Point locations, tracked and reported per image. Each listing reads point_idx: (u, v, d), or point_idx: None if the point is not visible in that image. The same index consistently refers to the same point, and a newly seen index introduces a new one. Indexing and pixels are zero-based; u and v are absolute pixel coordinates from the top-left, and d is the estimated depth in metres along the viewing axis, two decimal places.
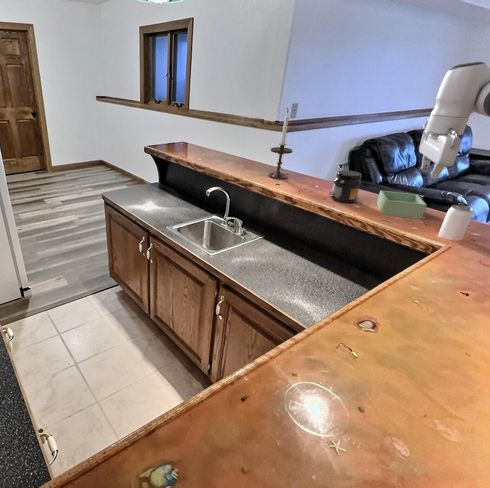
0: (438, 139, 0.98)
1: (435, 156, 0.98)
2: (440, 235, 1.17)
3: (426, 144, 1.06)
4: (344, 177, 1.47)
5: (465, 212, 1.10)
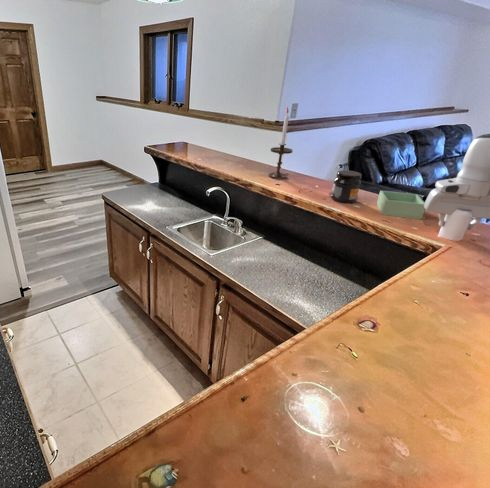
0: (484, 199, 1.08)
1: (486, 213, 1.09)
2: (440, 235, 1.17)
3: (450, 204, 1.12)
4: (344, 177, 1.47)
5: (465, 212, 1.10)
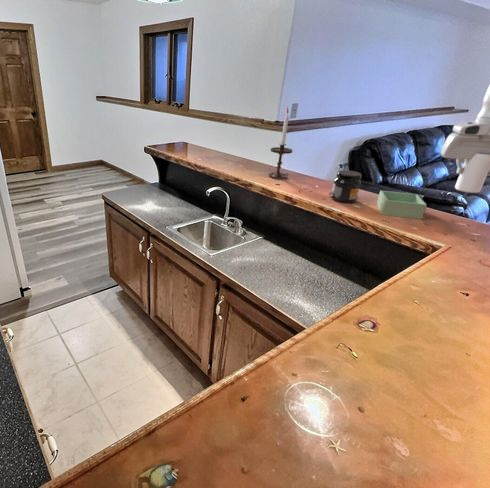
0: None
1: None
2: (458, 184, 1.10)
3: (469, 148, 1.05)
4: (344, 177, 1.47)
5: (486, 156, 1.03)
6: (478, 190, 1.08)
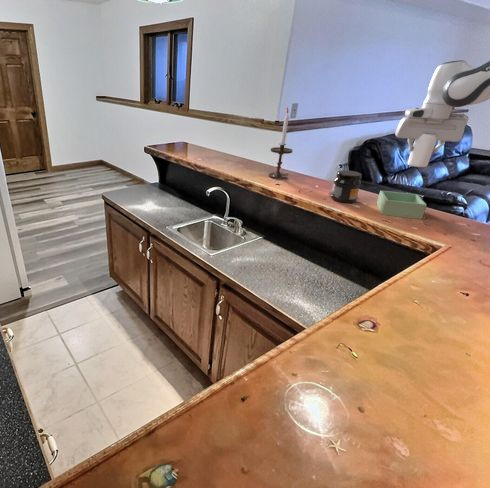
0: (446, 123, 1.22)
1: (448, 136, 1.23)
2: (409, 160, 1.31)
3: (417, 129, 1.26)
4: (344, 177, 1.47)
5: (430, 135, 1.24)
6: (425, 165, 1.29)
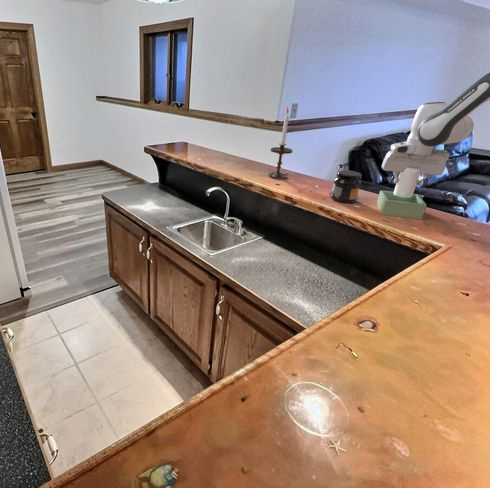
0: (428, 158, 1.30)
1: (431, 170, 1.31)
2: (395, 191, 1.39)
3: (401, 163, 1.34)
4: (344, 177, 1.47)
5: (414, 169, 1.32)
6: (409, 196, 1.36)
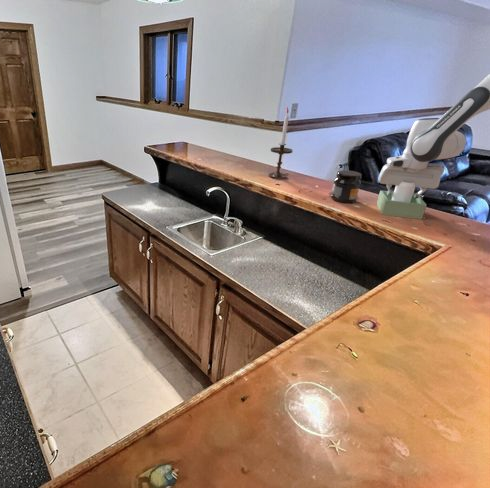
0: (424, 172, 1.32)
1: (426, 183, 1.34)
2: None
3: (397, 177, 1.36)
4: (344, 177, 1.47)
5: (409, 183, 1.35)
6: None
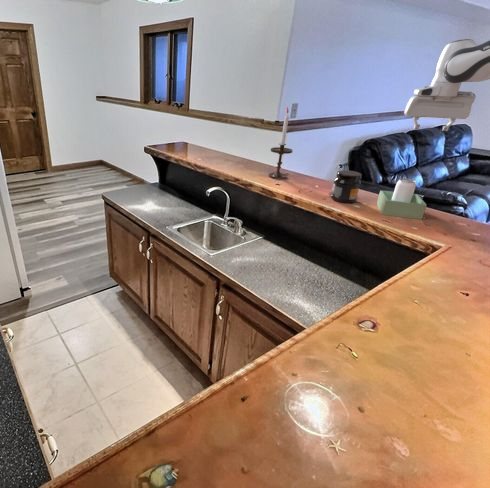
0: (454, 100, 1.27)
1: (456, 113, 1.28)
2: None
3: (425, 107, 1.30)
4: (344, 177, 1.47)
5: (409, 183, 1.35)
6: None
